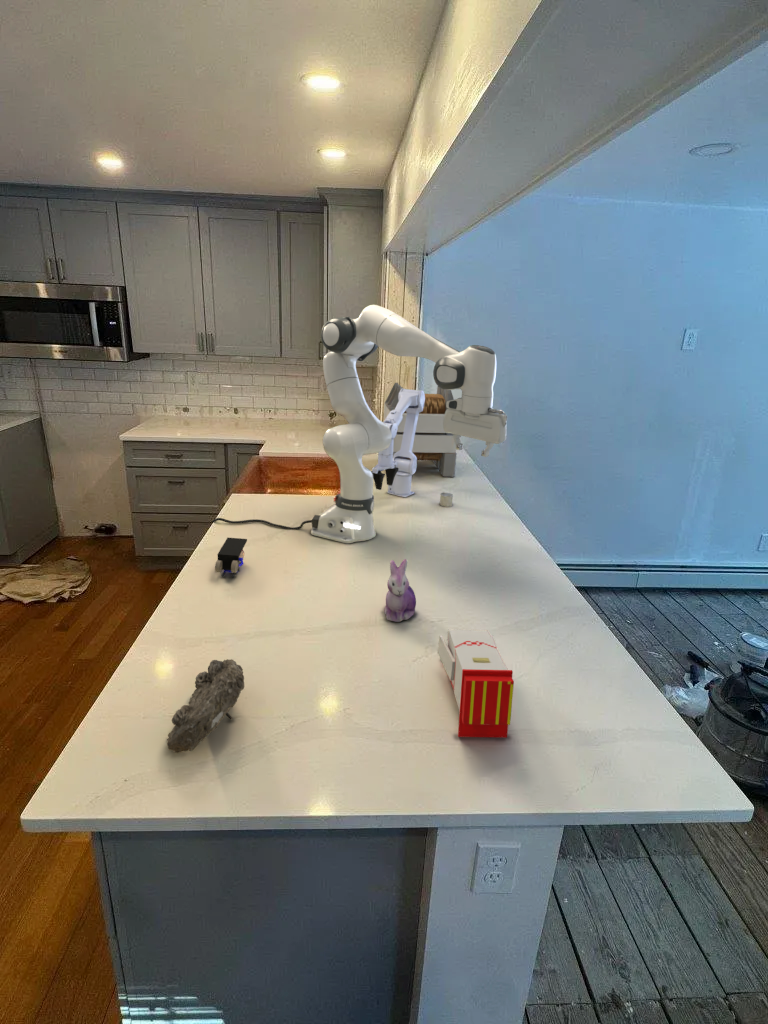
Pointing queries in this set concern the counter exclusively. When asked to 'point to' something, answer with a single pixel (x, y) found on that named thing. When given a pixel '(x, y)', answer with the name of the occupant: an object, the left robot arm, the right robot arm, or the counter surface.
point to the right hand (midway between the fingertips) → (384, 487)
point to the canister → (446, 499)
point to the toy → (478, 682)
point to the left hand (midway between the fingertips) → (471, 452)
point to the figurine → (399, 594)
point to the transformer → (427, 430)
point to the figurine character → (230, 556)
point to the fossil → (206, 705)
